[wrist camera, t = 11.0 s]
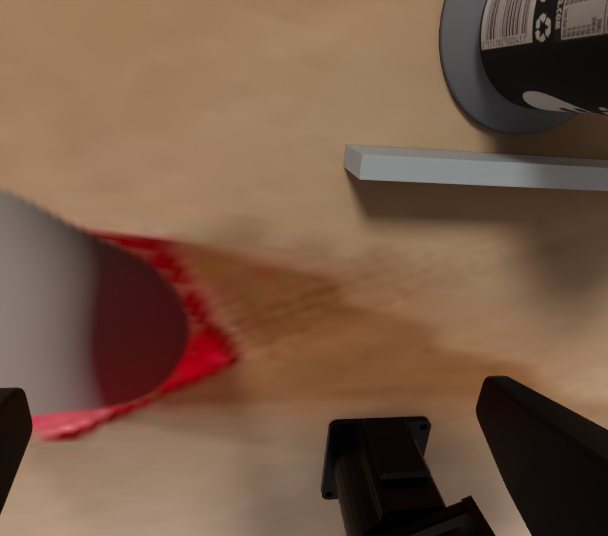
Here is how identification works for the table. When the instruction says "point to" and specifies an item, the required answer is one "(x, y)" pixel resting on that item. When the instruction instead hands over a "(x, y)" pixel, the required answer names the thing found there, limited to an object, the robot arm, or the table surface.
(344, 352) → the table surface
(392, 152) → the low wall
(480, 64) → the coaster mat
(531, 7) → the beverage can
